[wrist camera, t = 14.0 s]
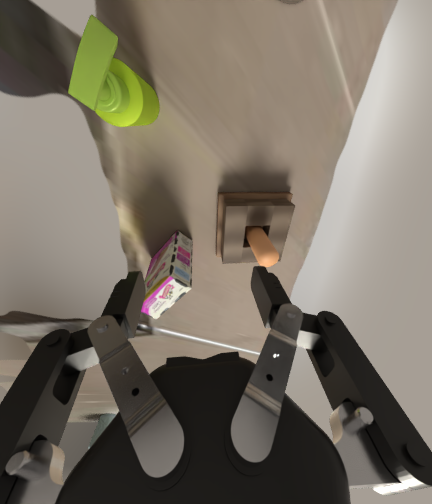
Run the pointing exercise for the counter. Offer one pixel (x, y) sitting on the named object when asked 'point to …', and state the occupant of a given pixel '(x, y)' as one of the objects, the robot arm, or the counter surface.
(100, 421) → the teal embossed pot
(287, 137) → the counter surface
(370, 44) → the counter surface
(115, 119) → the soap dispenser
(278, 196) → the socket block
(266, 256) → the wooden pin
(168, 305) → the candy bar box
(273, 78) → the counter surface
